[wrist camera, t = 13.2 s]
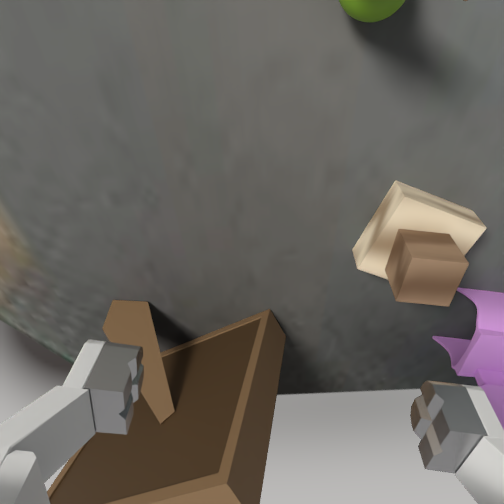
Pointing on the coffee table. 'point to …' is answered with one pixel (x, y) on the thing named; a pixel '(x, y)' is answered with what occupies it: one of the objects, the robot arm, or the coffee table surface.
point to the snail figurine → (371, 9)
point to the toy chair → (482, 348)
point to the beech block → (412, 225)
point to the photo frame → (185, 418)
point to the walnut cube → (425, 267)
